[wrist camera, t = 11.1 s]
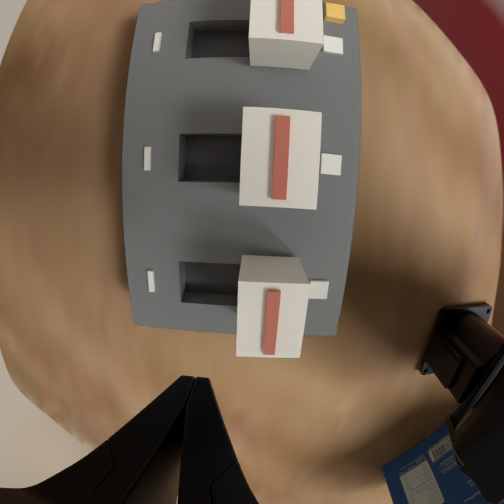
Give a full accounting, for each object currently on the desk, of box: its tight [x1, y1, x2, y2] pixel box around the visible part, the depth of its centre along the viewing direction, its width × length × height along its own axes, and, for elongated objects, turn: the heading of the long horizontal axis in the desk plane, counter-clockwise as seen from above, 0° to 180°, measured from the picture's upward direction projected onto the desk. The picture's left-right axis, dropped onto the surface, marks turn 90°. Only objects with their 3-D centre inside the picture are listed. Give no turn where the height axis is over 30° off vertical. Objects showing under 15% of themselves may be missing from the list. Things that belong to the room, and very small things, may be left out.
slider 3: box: [236, 255, 310, 358], centre depth 14 cm, size 3×4×5 cm
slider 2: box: [239, 107, 322, 210], centre depth 12 cm, size 3×4×5 cm
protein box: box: [382, 423, 504, 504], centre depth 18 cm, size 10×15×16 cm
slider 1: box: [249, 0, 324, 70], centre depth 10 cm, size 3×4×5 cm
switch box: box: [122, 0, 361, 336], centre depth 15 cm, size 12×19×4 cm, turn 178°
